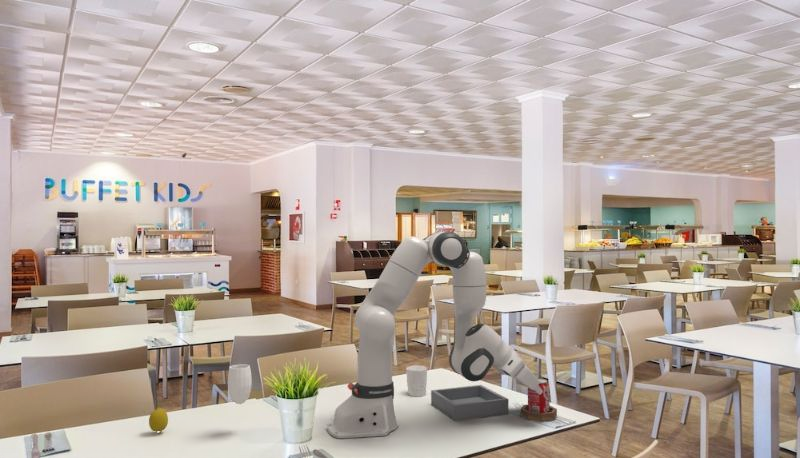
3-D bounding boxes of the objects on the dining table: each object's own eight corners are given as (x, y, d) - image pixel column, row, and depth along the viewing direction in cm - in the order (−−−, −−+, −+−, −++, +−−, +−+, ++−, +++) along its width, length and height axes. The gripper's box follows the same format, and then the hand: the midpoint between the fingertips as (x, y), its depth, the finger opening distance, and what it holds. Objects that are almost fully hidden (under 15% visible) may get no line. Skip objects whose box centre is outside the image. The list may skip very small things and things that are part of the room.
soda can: (548, 413, 205) (547, 377, 204) (551, 419, 197) (550, 383, 197) (526, 412, 205) (526, 377, 205) (529, 419, 198) (528, 382, 198)
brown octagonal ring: (533, 423, 194) (533, 415, 194) (515, 413, 205) (515, 406, 205) (562, 419, 198) (562, 411, 198) (543, 409, 208) (543, 402, 208)
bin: (454, 420, 198) (454, 405, 198) (431, 404, 216) (431, 390, 216) (508, 413, 204) (508, 399, 204) (481, 398, 223) (481, 384, 223)
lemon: (148, 437, 185) (147, 411, 185) (150, 431, 190) (150, 406, 190) (167, 435, 186) (166, 409, 186) (169, 429, 192) (168, 404, 192)
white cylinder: (403, 392, 232) (403, 366, 232) (423, 390, 234) (423, 365, 234) (410, 398, 225) (410, 371, 225) (430, 396, 227) (430, 369, 227)
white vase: (227, 430, 190) (226, 365, 190) (250, 427, 193) (250, 363, 193) (229, 438, 183) (228, 370, 183) (253, 435, 186) (252, 367, 186)
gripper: (490, 361, 209) (518, 387, 211) (510, 375, 189) (541, 404, 191) (502, 348, 210) (529, 374, 212) (524, 360, 190) (554, 389, 192)
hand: (535, 388), depth 201 cm, fingers open, 8 cm apart
